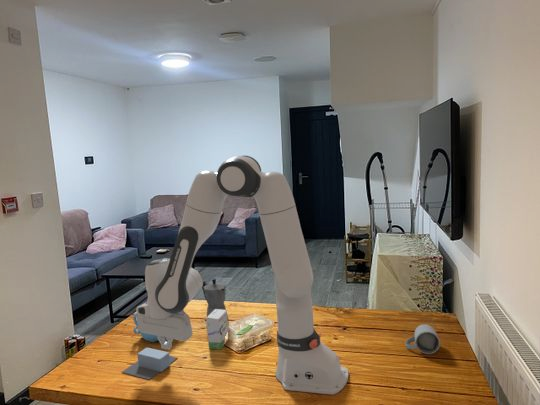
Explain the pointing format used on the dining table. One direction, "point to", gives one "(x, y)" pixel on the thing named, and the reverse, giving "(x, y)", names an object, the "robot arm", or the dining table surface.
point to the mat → (143, 370)
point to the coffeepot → (214, 295)
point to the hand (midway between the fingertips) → (166, 348)
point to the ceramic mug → (424, 340)
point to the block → (154, 359)
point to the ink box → (217, 328)
